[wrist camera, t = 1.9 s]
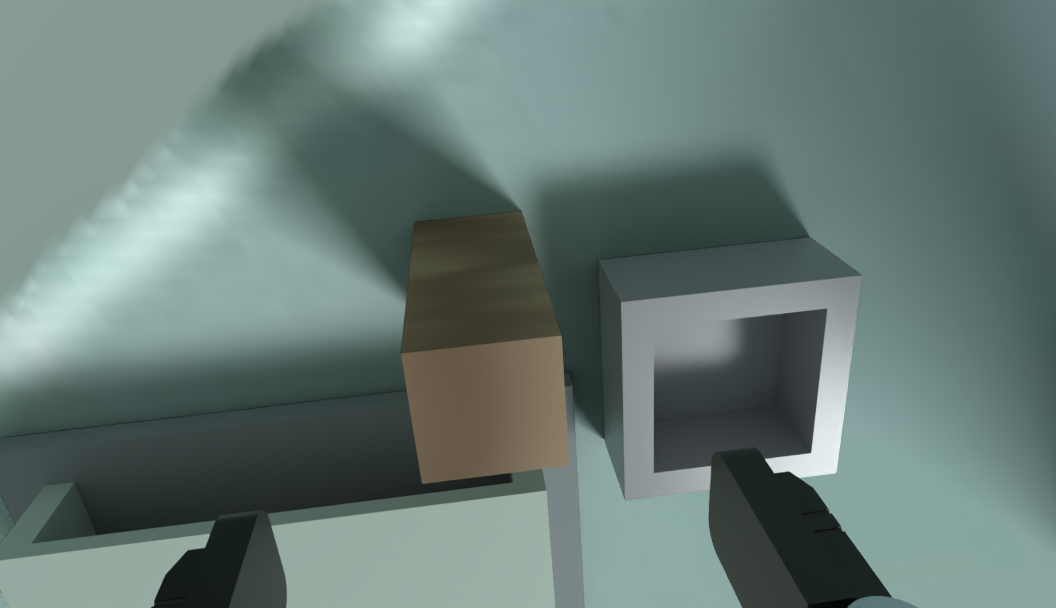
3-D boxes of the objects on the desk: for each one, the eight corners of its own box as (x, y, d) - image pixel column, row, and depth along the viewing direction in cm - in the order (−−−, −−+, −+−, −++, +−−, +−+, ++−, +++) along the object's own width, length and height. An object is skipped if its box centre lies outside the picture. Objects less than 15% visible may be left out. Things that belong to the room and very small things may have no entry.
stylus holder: (810, 237, 26) (862, 275, 23) (793, 417, 29) (836, 472, 26) (598, 259, 25) (621, 302, 22) (604, 440, 28) (624, 500, 25)
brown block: (521, 211, 24) (561, 335, 16) (528, 307, 26) (569, 465, 18) (414, 221, 24) (400, 353, 16) (428, 318, 25) (422, 483, 17)
